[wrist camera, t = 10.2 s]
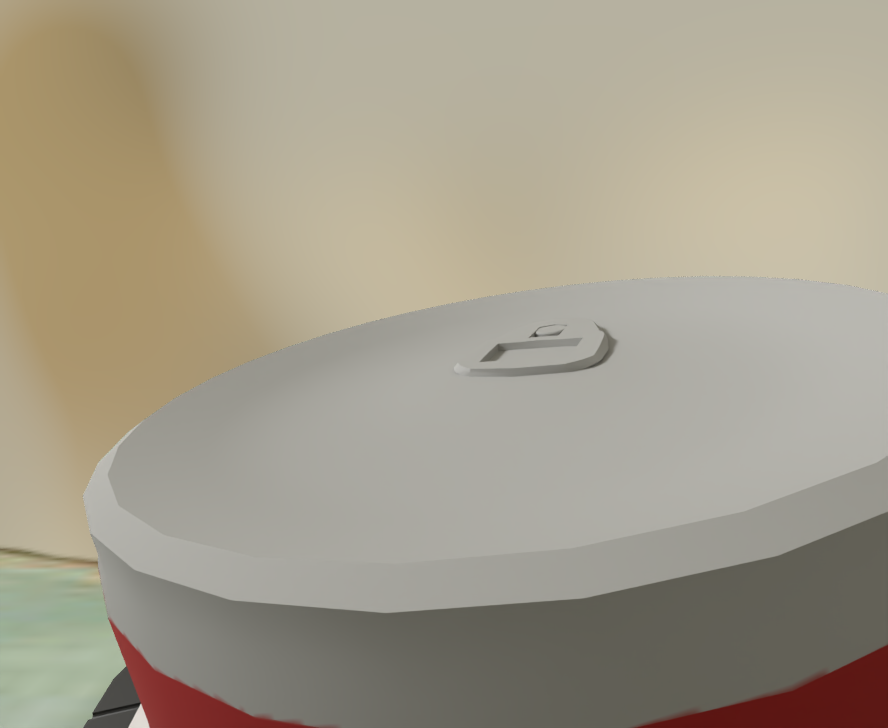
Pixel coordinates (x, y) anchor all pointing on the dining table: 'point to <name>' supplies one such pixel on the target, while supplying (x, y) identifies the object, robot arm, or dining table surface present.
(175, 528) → the canned food
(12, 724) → the dining table surface
